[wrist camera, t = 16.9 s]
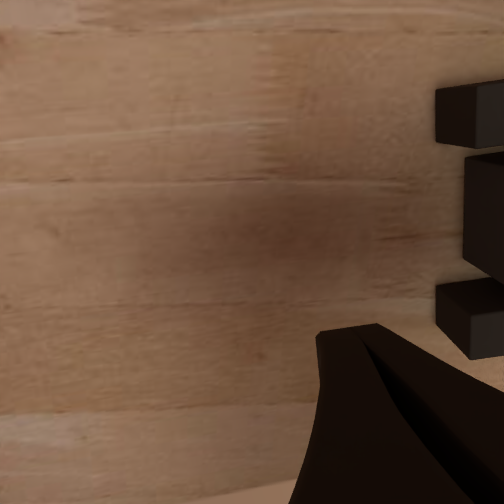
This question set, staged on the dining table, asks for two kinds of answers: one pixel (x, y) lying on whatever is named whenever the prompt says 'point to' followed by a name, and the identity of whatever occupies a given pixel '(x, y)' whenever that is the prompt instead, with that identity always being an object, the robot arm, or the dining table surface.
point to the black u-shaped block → (484, 290)
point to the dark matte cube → (485, 213)
